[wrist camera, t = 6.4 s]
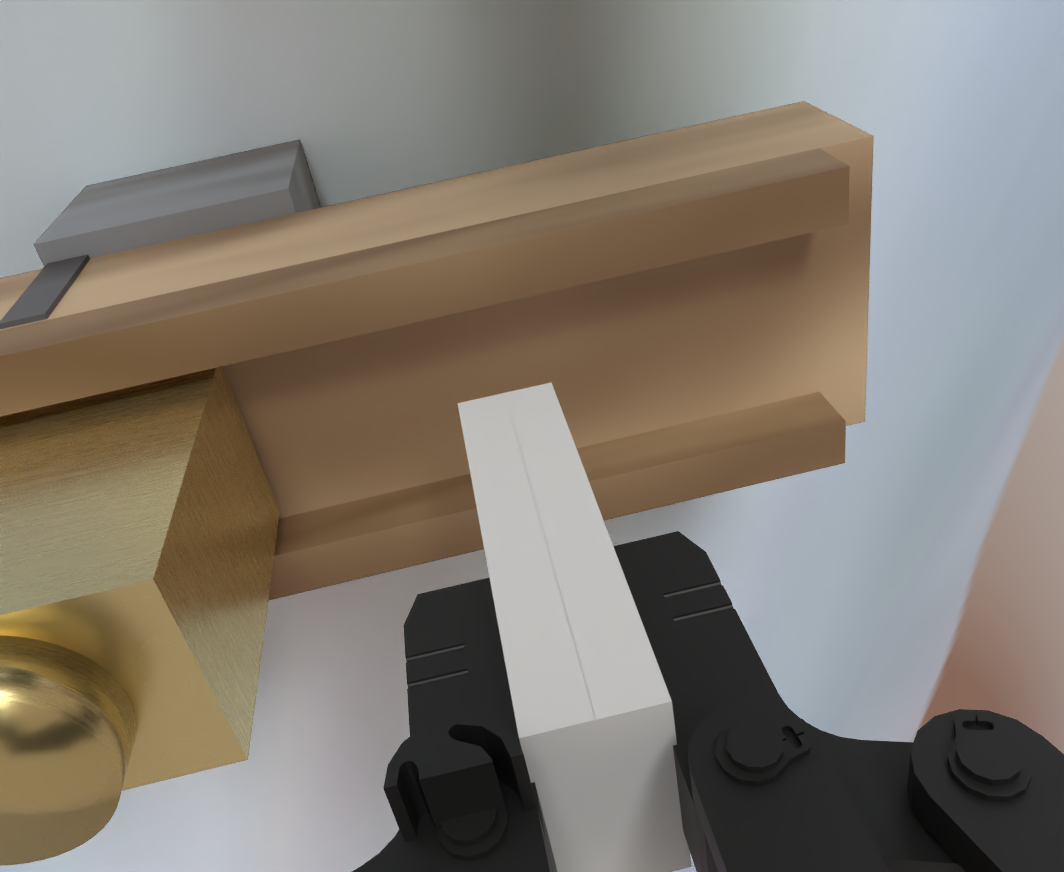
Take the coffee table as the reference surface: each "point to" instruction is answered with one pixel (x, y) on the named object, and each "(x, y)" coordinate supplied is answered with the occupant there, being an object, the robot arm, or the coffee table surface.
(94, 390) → the beam
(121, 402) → the rider
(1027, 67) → the coffee table surface
